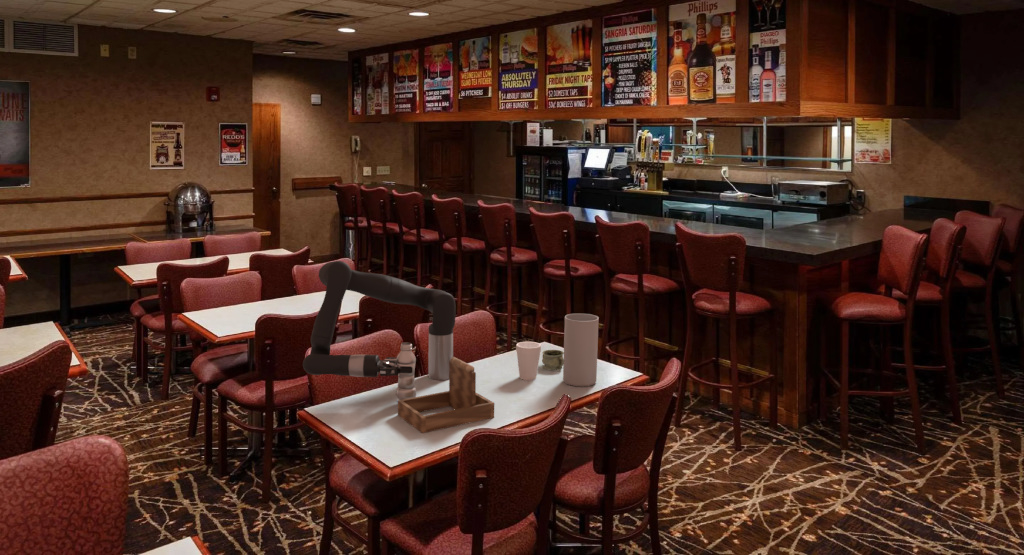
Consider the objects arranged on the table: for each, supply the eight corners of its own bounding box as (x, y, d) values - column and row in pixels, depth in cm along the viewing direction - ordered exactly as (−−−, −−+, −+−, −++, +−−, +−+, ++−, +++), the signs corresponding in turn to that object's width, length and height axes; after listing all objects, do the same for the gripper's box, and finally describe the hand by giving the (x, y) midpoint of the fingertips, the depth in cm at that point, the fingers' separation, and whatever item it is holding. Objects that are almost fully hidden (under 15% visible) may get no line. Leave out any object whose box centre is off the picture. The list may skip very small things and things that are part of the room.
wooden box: (397, 415, 246) (397, 363, 243) (467, 401, 260) (467, 351, 257) (422, 433, 231) (421, 378, 228) (494, 417, 245) (494, 365, 242)
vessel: (571, 369, 299) (571, 353, 298) (555, 373, 293) (555, 357, 292) (550, 362, 308) (550, 347, 307) (534, 366, 302) (534, 351, 301)
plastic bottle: (412, 404, 252) (412, 347, 249) (393, 402, 254) (393, 345, 250) (418, 398, 259) (419, 342, 255) (400, 396, 260) (400, 340, 256)
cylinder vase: (562, 376, 289) (564, 313, 285) (594, 377, 289) (597, 313, 284) (563, 386, 277) (565, 320, 272) (597, 387, 277) (600, 321, 272)
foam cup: (512, 379, 284) (512, 346, 282) (520, 372, 293) (521, 340, 290) (535, 382, 281) (536, 349, 279) (543, 375, 290) (544, 343, 287)
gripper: (359, 361, 246) (410, 362, 246) (368, 349, 260) (416, 350, 261) (360, 383, 248) (410, 384, 248) (368, 369, 262) (416, 371, 262)
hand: (413, 366), depth 254 cm, fingers closed on plastic bottle, 6 cm apart
